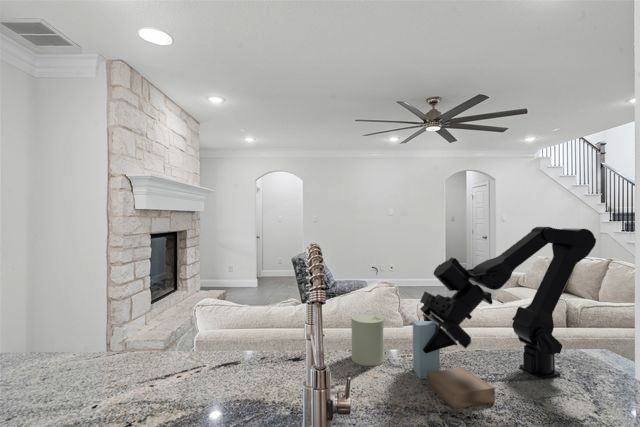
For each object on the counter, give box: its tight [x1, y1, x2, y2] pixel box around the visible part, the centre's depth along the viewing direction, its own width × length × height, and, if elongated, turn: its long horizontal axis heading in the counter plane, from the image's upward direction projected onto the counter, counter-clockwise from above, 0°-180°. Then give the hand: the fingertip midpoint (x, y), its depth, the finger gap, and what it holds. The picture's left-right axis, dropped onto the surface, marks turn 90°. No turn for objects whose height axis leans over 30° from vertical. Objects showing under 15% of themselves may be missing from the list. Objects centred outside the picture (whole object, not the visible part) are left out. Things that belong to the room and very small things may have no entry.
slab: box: [426, 367, 496, 409], centre depth 72 cm, size 10×10×3 cm
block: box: [412, 320, 441, 380], centre depth 81 cm, size 5×5×12 cm
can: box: [350, 312, 385, 367], centre depth 90 cm, size 9×9×12 cm
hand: (420, 347), depth 81 cm, fingers closed on block, 5 cm apart
